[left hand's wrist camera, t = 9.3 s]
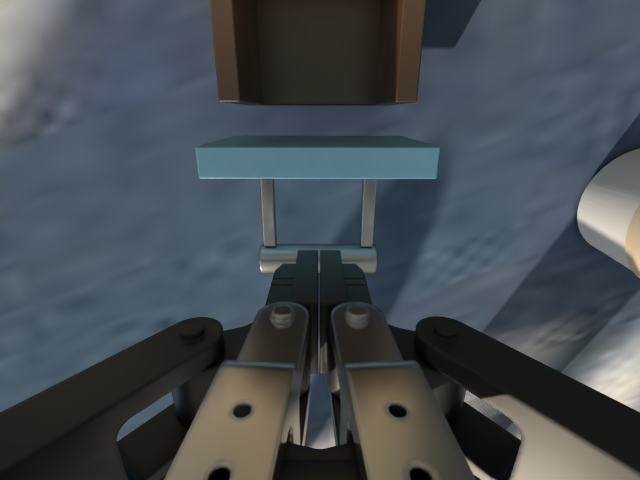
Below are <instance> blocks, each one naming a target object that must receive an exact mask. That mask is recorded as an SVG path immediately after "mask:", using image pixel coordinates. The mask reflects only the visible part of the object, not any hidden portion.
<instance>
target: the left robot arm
mask: <svg viewBox="0 0 640 480" xmlns="http://www.w3.org/2000/svg"><path fill="white" fill-rule="evenodd" d="M310 374H318V250H298V253H297V260H296V264H282V265H281V266H279V267H278V268H277V269H276V270H275V272H274V276H273V280H272V283H271V287H270V291H269V294H268V298H267V301H266V305H265V307H263V308H262V309H260V310H259V311H258V313H257V314H256V317H255V319H254V321H253V323H251V324H249V325H246V326H243V327H240V328H236V329H231V330H226V331H223V327H222V325H221V323H220V322H219V321H217V320H215V319H212V318H207V317H197V318H191V319H187V320H184V321H181V322H179V323H177V324H175V325H173V326H171V327H169V328H167V329H165V330H163V331H161V332H159V333H157V334H155V335H153V336H151V337H149V338H147V339H145V340H143V341H141V342H139V343H137V344H135V345H133V346H131V347H129V348H127V349H125V350H123V351H121V352H119V353H117V354H115V355H113V356H111V357H109V358H107V359H105V360H103V361H101V362H99V363H97V364H95V365H93V366H91V367H90V368H88V369H86V370H84V371H82V372H80V373H78V374H76V375H74V376H72V377H70V378H68V379H66V380H64V381H62V382H60V383H58V384H56V385H54V386H52V387H50V388H48V389H46V390H44V391H42V392H40V393H38V394H36V395H34V396H32V397H30V398H28V399H26V400H24V401H22V402H20V403H18V404H16V405H14V406H12V407H10V408H8V409H6V410H4V411H2V412H0V480H640V412H638V411H636V410H634V409H632V408H630V407H628V406H626V405H624V404H622V403H620V402H618V401H616V400H614V399H612V398H610V397H608V396H606V395H604V394H602V393H600V392H598V391H596V390H594V389H592V388H590V387H588V386H586V385H584V384H582V383H580V382H578V381H576V380H574V379H572V378H570V377H568V376H566V375H564V374H562V373H560V372H558V371H556V370H554V369H552V368H550V367H548V366H547V365H545V364H543V363H541V362H539V361H537V360H535V359H533V358H531V357H529V356H527V355H525V354H523V353H521V352H519V351H517V350H515V349H513V348H511V347H509V346H507V345H505V344H503V343H501V342H499V341H497V340H495V339H493V338H491V337H489V336H487V335H485V334H483V333H481V332H479V331H477V330H475V329H473V328H471V327H469V326H467V325H465V324H463V323H461V322H459V321H457V320H454V319H451V318H446V317H428V318H424V319H422V320H421V321H419V322H418V323H417V325H416V331H411V330H406V329H401V328H397V327H394V326H391V325H389V324H388V323H387V321H386V319H385V317H384V314H383V313H382V311H381V310H380V309H378V308H377V307H375V306H373V305H372V302H371V298H370V295H369V291H368V287H367V283H366V280H365V276H364V272H363V270H362V269H361V268H360V267H359V266H358V265H356V264H342V259H341V252H340V250H320V374H327V382H328V387H329V389H330V404H331V412H332V420H333V428H334V436H335V444H336V446H334V447H330V448H326V449H314V448H310V447H306V446H304V444H305V436H306V428H307V420H308V412H309V404H310ZM466 390H468V391H469V392H471V393H472V394H474V395H475V396H477V397H478V398H480V399H482V400H483V401H485V402H486V403H488V404H489V405H491V406H492V407H494V408H495V409H497V410H498V411H500V412H501V413H503V414H504V415H506V416H507V417H509V418H510V419H511V420H512V421H513V422H514V423H515V425H516V426H517V428H518V429H519V431H520V434H521V440H519V439H518V438H516V437H515V436H513V435H512V434H511V433H509V432H508V431H506V430H505V429H503V428H502V427H500V426H499V425H497V424H496V423H494V422H493V421H492V420H490V419H489V418H487V417H486V416H484V415H483V414H481V413H480V412H478V411H477V410H476V409H474V408H473V407H471V406H470V405H468V404H467V403H465V402H464V398H465V393H466ZM171 391H172V396H173V401H174V403H173V404H172V405H170V406H169V407H167V408H166V409H164V410H163V411H162V412H160V413H159V414H157V415H156V416H154V417H153V418H151V419H150V420H148V421H147V422H145V423H144V424H143V425H141V426H140V427H138V428H137V429H135V430H134V431H132V432H131V433H129V434H128V435H127V436H125V437H124V438H122V439H121V440H119V441H118V442H116V439H117V435H118V432H119V430H120V429H121V427H122V426H123V425H124V424H125V422H126V421H127V420H129V419H130V418H131V417H133V416H134V415H136V414H137V413H139V412H140V411H142V410H143V409H145V408H146V407H148V406H149V405H151V404H152V403H154V402H155V401H157V400H158V399H160V398H162V397H163V396H165V395H166V394H168V393H169V392H171Z"/></svg>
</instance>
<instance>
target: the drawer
mask: <svg viewBox="0 0 640 480" xmlns="http://www.w3.org/2000/svg"><path fill="white" fill-rule="evenodd" d="M425 10H426V0H210V11H211V21H212V32H213V42H214V53H215V63H216V74H217V84H218V95H219V101H220V102H225V103H234V104H243V105H363V106H387V105H396V104H405V103H414V102H416V101H417V94H418V84H419V73H420V63H421V52H422V42H423V31H424V20H425ZM439 155H440V147H438V146H434V145H431V144H427V143H423V142H420V141H416V140H413V139H409V138H406V137H402V136H234V137H230V138H226V139H223V140H219V141H215V142H211V143H208V144H204V145H200V146H197V147H196V156H197V164H198V172H199V178H249V179H260V189H261V205H262V222H263V238H264V244H262V245H261V247H260V254H259V264H260V270H261V272H262V273H274V272H275V270H276V269H277V268H278V267H279V266H281V265H282V264H296V260H297V253H298V250H318V273H320V250H340V252H341V259H342V264H356V265H358V266H359V267H360V268H361V269H362V270H363V272H364V273H375V271H376V268H377V250H376V246H375V244H373V232H374V215H375V199H376V182H377V179H436V178H437V171H438V163H439ZM274 179H363V182H362V203H361V225H360V244H276V243H277V235H276V213H275V191H274Z"/></svg>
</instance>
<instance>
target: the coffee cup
mask: <svg viewBox="0 0 640 480" xmlns="http://www.w3.org/2000/svg"><path fill="white" fill-rule="evenodd" d="M577 222H578V227H579V230H580V233H581V235H582V236H583V238H584V239H585V240H586V241H587V242H588V243H589V244H590V245H592V246H593V247H595V248H597V249H598V250H600V251H601V252H603V253H605V254H606V255H608V256H609V257H611V258H613V259H614V260H616V261H617V262H619V263H621V264H622V265H624V266H625V267H627V268H629V269H630V270H632V271H633V272H634V274H635V275H636V276H637V277H638V278H640V149H636V150H633V151H630V152H628V153H625V154H623V155H621V156H619V157H618V158H616V159H614V160H613V161H611V162H610V163H609V164H607V165H606V166H605V167H604V168H602V169H601V170H600V171H599V172H598V173H597V174H596V175H595V177H594V178H593V179H592V180H591V181H590V183H589V184H588V186H587V187H586V189H585V191H584V193H583V195H582V197H581V200H580V203H579V206H578V212H577Z"/></svg>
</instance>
